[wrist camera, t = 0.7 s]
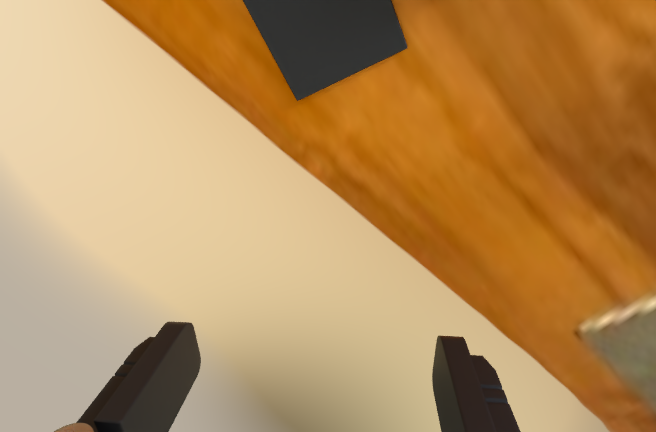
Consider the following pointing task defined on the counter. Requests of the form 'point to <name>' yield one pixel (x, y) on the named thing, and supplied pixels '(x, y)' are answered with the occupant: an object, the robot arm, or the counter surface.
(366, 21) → the mat
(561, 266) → the counter surface
